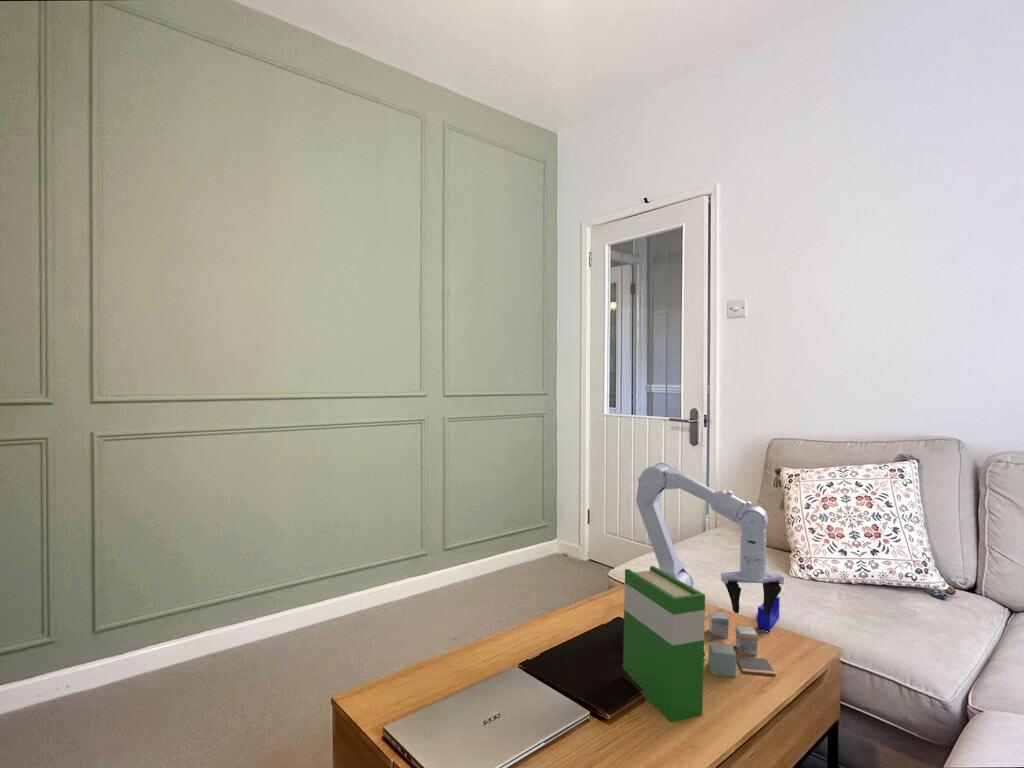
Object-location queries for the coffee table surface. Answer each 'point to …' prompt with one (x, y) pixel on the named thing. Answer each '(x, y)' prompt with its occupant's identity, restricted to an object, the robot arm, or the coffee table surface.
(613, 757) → the coffee table surface
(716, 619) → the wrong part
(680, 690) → the hardback book
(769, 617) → the cable clip
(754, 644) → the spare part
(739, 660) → the pad
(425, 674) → the coffee table surface
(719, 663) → the block
